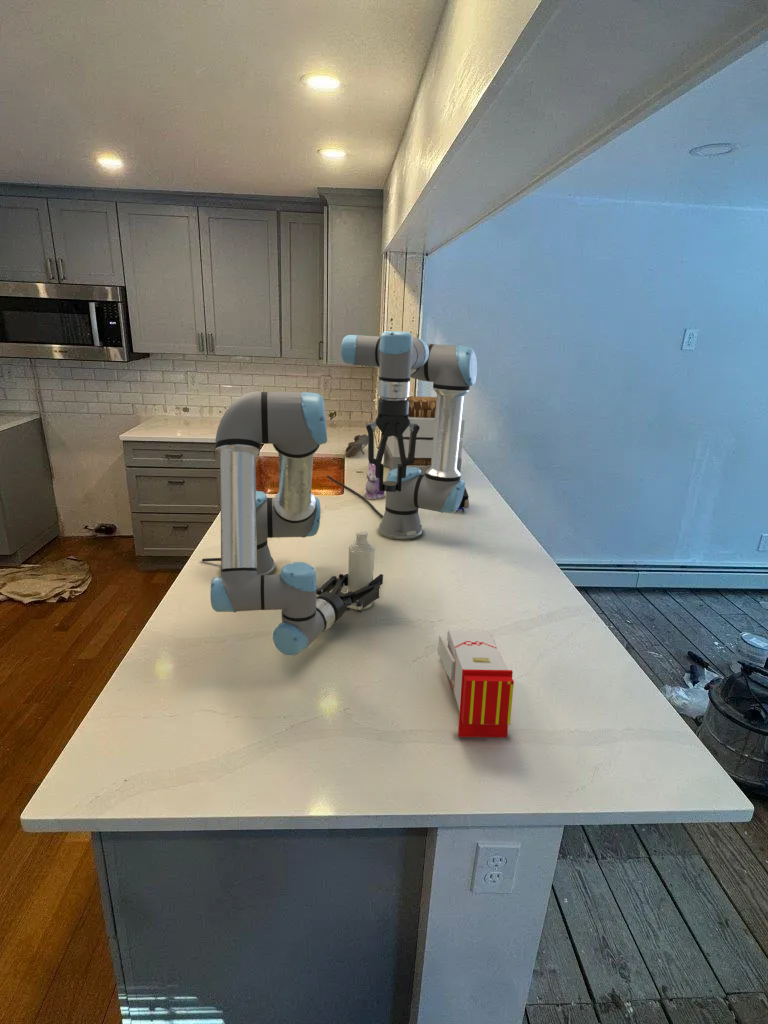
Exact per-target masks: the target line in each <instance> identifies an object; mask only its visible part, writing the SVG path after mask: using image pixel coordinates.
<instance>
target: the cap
mask: <svg viewBox="0 0 768 1024" xmlns="http://www.w3.org/2000/svg"><path fill="white" fill-rule="evenodd" d="M397 490H398V483H397V482H394V481H387V480H385V481H384V480H383V491H385V493H386V492H395V491H397Z"/></svg>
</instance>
